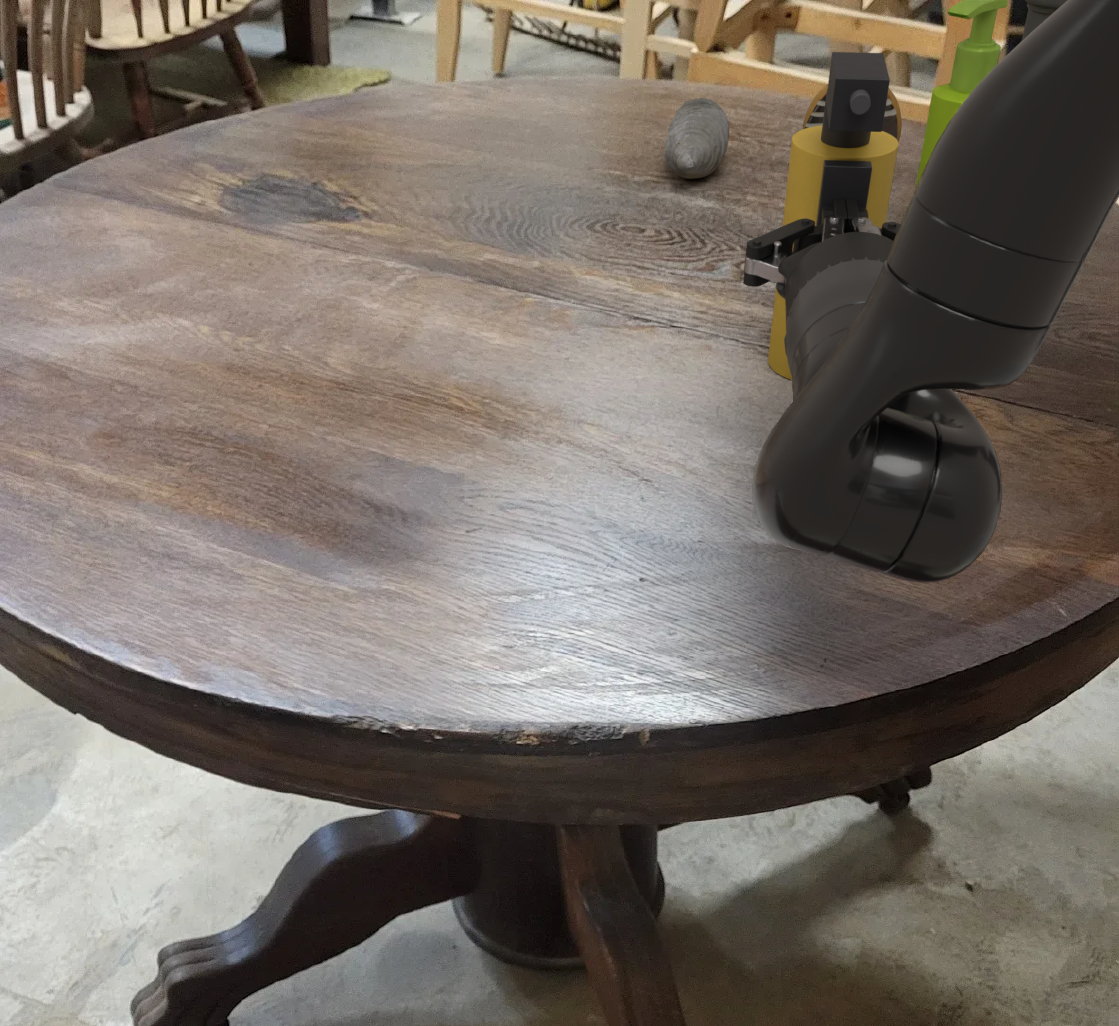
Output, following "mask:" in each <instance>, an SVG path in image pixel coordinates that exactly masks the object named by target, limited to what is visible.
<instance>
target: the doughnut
mask: <svg viewBox="0 0 1119 1026" xmlns="http://www.w3.org/2000/svg"><path fill="white" fill-rule="evenodd" d="M827 89H828V83H827V84H826V85H825V86H823V87H822V88H821V89H820V90H819V91H818V92H817V93H816V95H815V96H814V97H813V99H812V100H811V102H810V104H809V106H808V108H807V110H806V113H805V115H804V119H803V123H802V130H803V129H806V128H810V127H814V126H821V125H823V117H824V109H825V101H826V93H827ZM902 125H903V123H902V112H901V109H900V105H899V102H898V99H897V97H896V95H895V93H893V91H892V90H891V89H890V88H889V89H888V96H887V102H886V109H885V115H884V122H883V128H882V131H883V132H886V133H888V134H890V135H892V136H893V137H895V138H896V139H897V141H898V143H899V142H900V139H901V135H902V128H903V126H902Z"/></svg>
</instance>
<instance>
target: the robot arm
mask: <svg viewBox="0 0 1119 1026" xmlns="http://www.w3.org/2000/svg"><path fill="white" fill-rule="evenodd" d="M915 188H916V189H915ZM915 188H914V193H913V194H912V196H911V198H910V201H909V204H908V206H907V208H906V210H905V213H904V215H903V217H902V220H901V222H900V223H899V222H896V221H888V222H887V221H886V223H883V224H882V229H881V228H879V227H878V226H873V223H872V221H871V220H870V219H869V217H868V211H867V209H865V208H864V207H858V206H857V200H855V199H834V200H833V206H825V207H824V208H823V209H822V217H821V224H820V225H818V226H815V221H813V220H810V219H806V218H804V219H799V220H796V221H794V222H792V223H789V224H787V225H785V226H783V225H782V226H780V227H778V228H775V229H774V230H770V231H769V232H767V233H764V234H761V235H759V236H757V237H755V238H752V239H750V240H748V241H747V242H746V246H745V247H746V248H745V256H744V267H743V279H742V280H743V281H742V283H743V285H745V286H747V287H751V288H757V287H761V286H763V285H765V284H767V283H769V282H770V283H771V284H775V290H776V289H777V292H778V294H779V295H780V296H781V297H783V298H784V299H785V305H786V335H785V338H784V344H785V352H786V356H787V359H788V365H789V369H790V372H791V376H792V380H791V383H792V384H791V388H792V389H791V390H792V402H791V403H789V406H787V407H786V409H785V410H784V411H783V414H782V415H781V417H779V419H778V420H777V422H776V424H774V427H773V428H772V429H771V431H769V434H768V436H767V438H766V439H765V441H764V443H763V445H762V448H761V449H760V452H759V454H758V456H757V460H756V463H755V466H754V470H753V475H752V484H751V499H752V503H753V509H754V513H755V516H756V518H757V520H758V523H759V525H760V526H761V528H762V529H763V530H764V532H765V533H766V535H767V536H768V537H769V538H771V539H772V540H773V541H775V542H776V543H778V544H780V545H783V546H785V547H787V548H791V549H793V550H797V551H800V552H803V553H807V554H811V555H814V556H817V557H822V558H825V559H828V560H832V561H836V562H838V563H843V564H846V565H849V566H853V567H856V568H860V569H864V570H865V571H866V570H867V571H870V572H873V573H879V574H881V575H884V576H886V577H887V576H888V577H890V578H894V579H897V580H901V581H905V582H910V583H919V584H932V583H934V584H935V583H939V582H943V581H946V580H949V579H951V578H954V577H956V576H957V575H959V574H961V573H962V572H964V571H966V570H967V569H968V568H969V567H971V566H972V565H973V564H974V563H975V562H976V561H977V560H978V559H979V558H980V556H981V555H982V554H983V553H984V552H985V551H986V548H988V545H989V544H990V543H991V540H992V538H993V536H994V534H995V531H996V529H997V526H998V523H999V519H1000V515H1001V511H1002V505H1003V504H1002V503H1003V480H1002V472H1001V471H1002V469H1001V467H1000V461H999V457H998V454H997V451H996V449H995V446H994V444H993V442H992V439H991V438H990V436H989V434H988V432H987V431H986V430H985V428H984V426H983V425H982V423H981V422H980V420H979V419H978V418H977V416H976V415H975V414H974V413H973V412H972V411H971V409H970V408H969V407H968V406H967V404H966V403H965V402H964V401H963V400H962V399H961V398H960V397H959V395H958V394H957V393H956V392H955V391H954V390H961V391H963V390H965V391H978V390H979V391H980V390H981V391H982V390H983V391H984V390H985V391H986V390H987V391H989V390H996V389H1000V388H1004V387H1007V386H1009V385H1011V384H1013V383H1014V382H1016V381H1017V380H1018V379H1020V378H1021V377H1022V376H1023V375H1024V373H1025V372H1026V371H1027V370H1028V368H1029V367H1030V365H1031V364H1032V362H1033V361H1034V360H1035V357H1036V356H1037V354H1038V352H1039V350H1040V348H1041V347H1042V345H1043V343H1044V341H1045V340H1046V337H1047V336H1048V334H1049V332H1050V330H1051V328H1052V326H1053V323H1054V321H1055V320H1056V318H1057V316H1058V314H1059V312H1060V310H1061V309H1062V307H1063V305H1064V303H1065V301H1066V299H1067V297H1068V296H1069V293H1070V292H1071V290H1072V287H1073V286H1074V283H1075V282H1076V280H1077V279H1078V276H1079V275H1080V272H1081V271H1082V269H1083V266H1084V265H1085V263H1086V260H1087V258H1088V257H1089V255H1090V253H1091V251H1092V249H1093V248H1094V246H1095V244H1096V241H1097V240H1098V238H1099V236H1100V234H1101V232H1102V230H1103V228H1104V227H1105V224H1106V222H1107V220H1108V218H1109V216H1110V214H1111V212H1112V211H1113V209H1114V206H1115V205H1116V203H1117V202H1118V200H1119V0H1067V1H1066V2H1065V3H1064V4H1063V5H1062V6H1061V7H1060V8H1058V9H1057V10H1056V11H1055V12H1054V13H1053V14H1052V15H1050V16H1049V17H1048V18H1047V19H1046V20H1045V21H1044V22H1043V23H1041V24H1040V25H1039V26H1038V27H1037V28H1036V29H1035V30H1033V31H1032V32H1031V33H1030V34H1029V35H1028V36H1027V37H1026V38H1025V39H1024V40H1023V41H1022V40H1021V41H1020V42H1019V43H1018V44H1017V45H1016V46H1014V48H1013V49H1012V50H1011V51H1010V52H1009V53H1007V54H1006V55H1005V56H1004V57H1003V58H1002V59H1001V60H1000V61H998V64H997V65H996V66H995V67H994V68H993V69H992V70H991V71H990V72H989V73H988V74H987V75H986V76H985V78H984V79H983V80H982V81H981V82H980V83H979V84H978V85H977V86H976V88H975V89H974V90H973V91H972V92H971V94H970V95H969V96H968V97H967V98H966V100H965V101H964V102H963V104H962V105H961V106H960V108H959V109H958V110H957V112H956V113H955V115H954V116H953V117H952V119H951V120H950V122H949V123H948V125H947V127H946V128H945V130H944V132H943V133H942V135H941V137H940V138H939V140H938V142H937V143H936V145H935V148H934V150H933V152H932V154H931V156H930V158H929V160H928V162H927V164H926V166H925V168H924V170H923V173H922V175H921V177H920V180H919V182H918V184H917V187H916V186H915ZM793 243H794V245H793ZM792 249H793V252H792Z"/></svg>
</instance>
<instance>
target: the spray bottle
mask: <svg viewBox="0 0 1119 1026" xmlns="http://www.w3.org/2000/svg"><path fill="white" fill-rule="evenodd" d="M890 79H891V78H890V75H889V71H888V67H887V64H886V59H885V56H884V53H883V52H853V51H851V52H850V51H846V52H845V51H832V52H831V57H830V66H829V74H828V82H827V84H828V89H827V93H826V101H825V109H824V117H823V125H821V126H814V127H810V128H806V129H803V128H802V129H801V130H799V131H797V132H795V133H794V134H793V135H792V137H791V144H790V153H789V163H788V170H787V171H788V172H787V180H786V189H785V198H784V199H785V200H784V207H783V208H784V209H783V217H782V226H785V225H787V224H789V223H792V222H794V221H796V220H799V219H804V218H806V219H810V220H813V221H815V226H816V220H817V212H818V204H819V196H820V188H821V180H822V172H823V164H824V160H841V161H870V162H871V164H872V174H871V180H870V187H869V193H868V200H867V207H866V209H867V211H868V217H869V219H870V220H871V221H872V223H873V226H878V227H879V228H881V229H882V224H883V223H886V222H887V218H888V212H889V206H890V200H891V194H892V187H893V182H894V175H895V170H896V163H897V158H898V157H897V156H898V150H899V142H898V141H897V139H896V138H895V137H893V136H892V135H890V134H888V133H886V132H883V131H882V128H883V122H884V115H885V109H886V102H887V96H888V89H890V81H891V80H890ZM793 245H794V243H793ZM792 252H793V249H792ZM771 318H772V319H771V329H770V335H769V336H770V337H769V347H768V357H767V362H768V365H769V368H770V369H772V370H773V372H774V373H776V374H777V375H779V376H781V377H783V378H785V379H788V380H790V381H792V376H791V372H790V369H789V365H788V359H787V356H786V352H785V344H784V338H785V335H786V305H785V299H784V298H783V297H781V296H780V295H779V294H778V292H777V289H776V288H775V292H774V300H773V310H772V317H771Z"/></svg>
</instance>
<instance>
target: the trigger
mask: <svg viewBox="0 0 1119 1026" xmlns="http://www.w3.org/2000/svg"><path fill="white" fill-rule="evenodd" d="M871 174H872V164H871V162H870V161H841V160H824V164H823V172H822V180H821V188H820V196H819V204H818V212H817V220H816V226H818V225H820V224H821V217H822V209H823V208H824V207H825V206H833V200H834V199H855V200H857V206H858V207H864V208H865V209H866V207H867V200H868V193H869V187H870V180H871Z"/></svg>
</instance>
